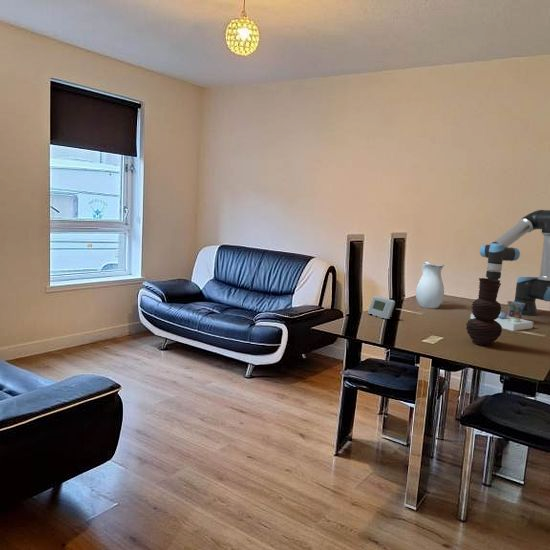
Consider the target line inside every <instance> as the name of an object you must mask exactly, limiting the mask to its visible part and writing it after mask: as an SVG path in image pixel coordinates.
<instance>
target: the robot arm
mask: <svg viewBox="0 0 550 550" xmlns="http://www.w3.org/2000/svg"><path fill="white" fill-rule="evenodd" d="M535 230H541V234H542V235H543V242H542V243H543V244H542V251H541V252H542V253H541V263H540V273H539V274H540V275H539V276H519V277H518V278H517V280H516V286H515V287H516V288H515V295H514V300H513V301H515V302H521V303H525V306H524V307H523V309H522V313H521V315H525V316H537V314H538V308H537V305H536V303H537V302H536V300H540V301H543V302H550V209H548V210H547V209H537V210H534V211H532V212H530V213H528V214H526V215H525V216H523V217H522V218H520V219H519V220H518V222H517V223H516V224H515V225H514V226H513V227H511V228H509V229H508V230H507V231H506V232H504V233H503V234H502V235H501V236H499V237H498V238H496V239H495V240H494V241H492V242H491V243H490V244H482V245H481V246H480V248H479V254H480V256H481V257H483V258H487V266H486V273H485V277H486V278H487V279H489V278H490V279H497V280H500V279H501V277H502V269H503V262H504V261H505V262H507V261H509V262H514V261H517V260H518V259H520V256H521V252H520V250H519V249H518V248H517V247H513V246H512V247H510V246H511V245H512V244H514V243H515V242H517V241H518V240H519V239H520V238H521V237H523V236H525V235H526V234H527V233H531V232H533V231H535ZM501 285H502V283H501V282H500V283H499V285H498V286H499V288H498V291H497V295H498V293H499V290H500V287H501ZM497 297H498V296H497ZM497 297H496V299H497Z"/></svg>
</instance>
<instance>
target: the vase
mask: <svg viewBox="0 0 550 550" xmlns="http://www.w3.org/2000/svg"><path fill="white" fill-rule="evenodd" d="M478 280H479V285H478V286H479V287H478V289H479V290H478V298H477V299H474V301H472V303H471V305H472V306H471V314H473V315H474V317H476V318H474V319H470V318H469V320H467V322H466V323H465V324H466V325H465V326H466V327H465V329H466V332H467V333H466V334H468V336H469V337H470V339H471V342H472V343H473V344H474V343H476V344H475V345H478V344H480V345H479V346H483V345H490V346H492V344H493V343H494V342H495V341H497V340H498V338H499V337H501V334H502V331H503V328H502V327H501V325H500V324H499V323H498V322H497V321H495V320H496V319H497V318H498V317H499V315H500V312H502V306H501V304H500V302H498V301H497V298H496V297H498V294H497V291H498V288H499V289H500V287H499V286H498V285H499V283H501V280H500V279H498V280H497V279H490V278H489V279H488V278H487V277H486V278H485V277H482V278H481V277H479V278H478ZM498 292H499V291H498Z"/></svg>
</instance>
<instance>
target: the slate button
mask: <svg viewBox="0 0 550 550" xmlns="http://www.w3.org/2000/svg"><path fill="white" fill-rule="evenodd" d="M506 316H508V313H507V312H504V311H500V315H499V317H498V318H500V319H506Z"/></svg>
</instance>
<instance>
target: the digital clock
mask: <svg viewBox="0 0 550 550" xmlns="http://www.w3.org/2000/svg"><path fill="white" fill-rule="evenodd" d="M395 305H396V301H395V300H393V299H389V298H387V297H383V296H378V295H373V297H372V299H371V302H370V303H369V306H368V307H369V308H368V310H367V314H368V313H369V314H368V315H370V314H372V315H376V316H379V317H382V318H384V319H383V320H386V319H389V320H390V319H391V318H390V317H392V315H393V311H394V308H395ZM372 315H371V316H372ZM382 318H381V319H382Z"/></svg>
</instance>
